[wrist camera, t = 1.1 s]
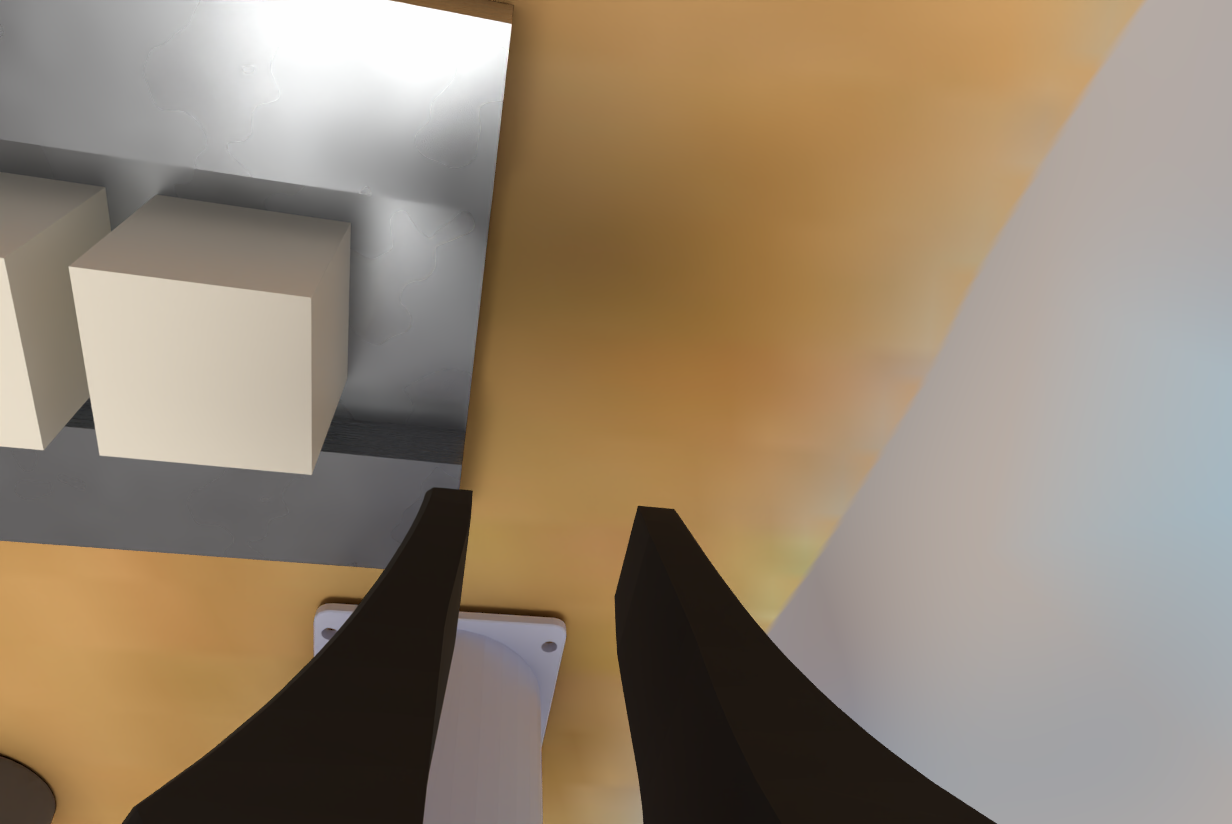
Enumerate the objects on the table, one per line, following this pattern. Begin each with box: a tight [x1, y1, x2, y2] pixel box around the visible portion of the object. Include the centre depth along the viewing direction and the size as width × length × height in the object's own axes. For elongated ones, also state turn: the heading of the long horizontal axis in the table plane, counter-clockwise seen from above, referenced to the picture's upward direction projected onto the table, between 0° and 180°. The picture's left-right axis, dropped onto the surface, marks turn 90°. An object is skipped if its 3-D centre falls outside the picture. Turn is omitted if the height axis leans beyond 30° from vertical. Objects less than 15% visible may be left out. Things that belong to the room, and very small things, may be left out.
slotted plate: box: [0, 0, 514, 569], centre depth 18 cm, size 14×18×3 cm
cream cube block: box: [68, 195, 351, 475], centre depth 17 cm, size 4×4×4 cm
